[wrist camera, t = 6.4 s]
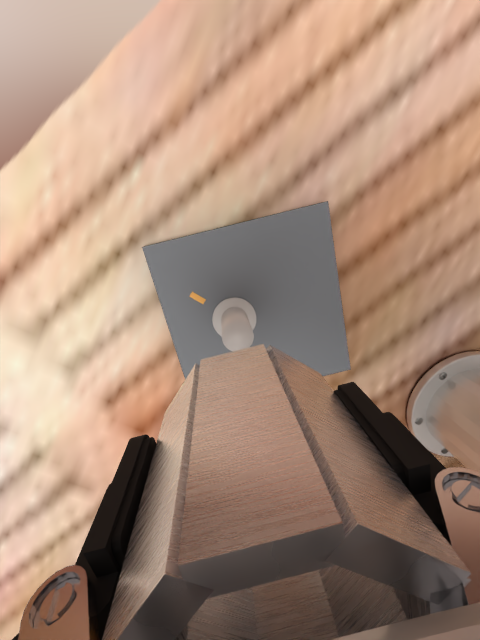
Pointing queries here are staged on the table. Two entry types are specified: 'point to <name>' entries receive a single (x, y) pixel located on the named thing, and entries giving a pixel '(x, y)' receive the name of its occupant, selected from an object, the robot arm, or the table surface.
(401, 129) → the table surface
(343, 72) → the table surface
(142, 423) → the table surface
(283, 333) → the flange
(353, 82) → the table surface
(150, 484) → the duct sleeve
